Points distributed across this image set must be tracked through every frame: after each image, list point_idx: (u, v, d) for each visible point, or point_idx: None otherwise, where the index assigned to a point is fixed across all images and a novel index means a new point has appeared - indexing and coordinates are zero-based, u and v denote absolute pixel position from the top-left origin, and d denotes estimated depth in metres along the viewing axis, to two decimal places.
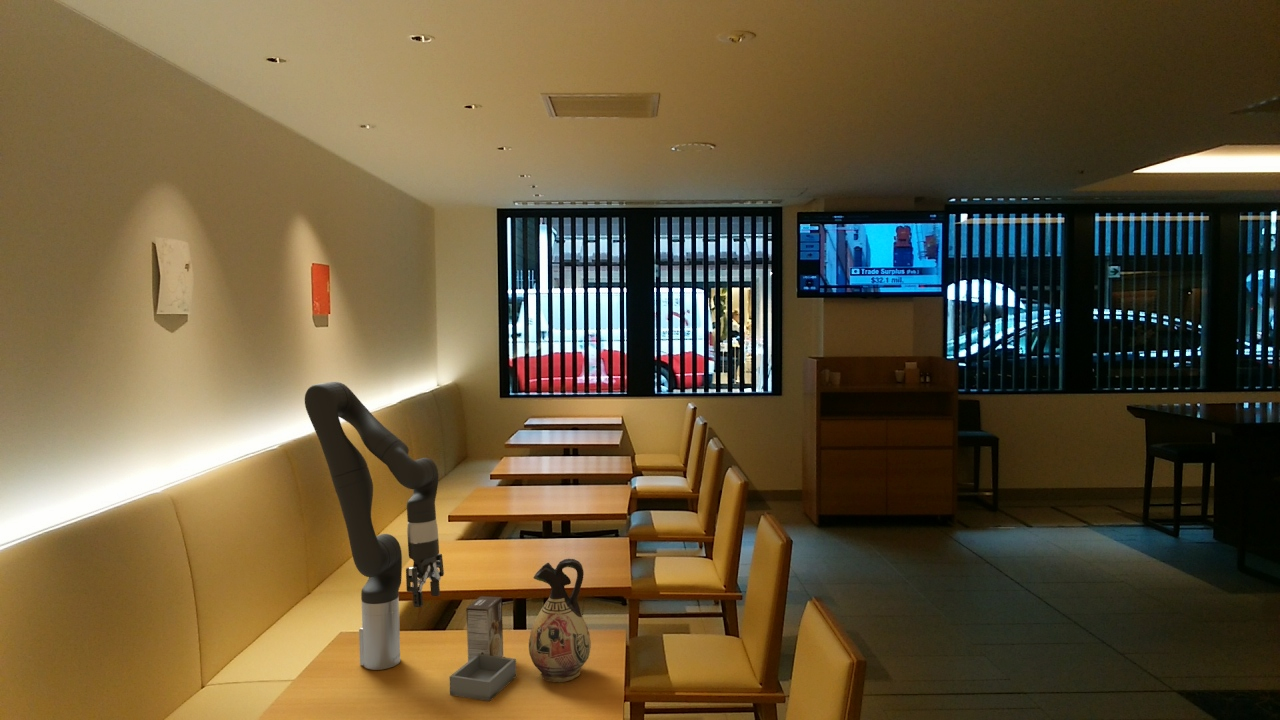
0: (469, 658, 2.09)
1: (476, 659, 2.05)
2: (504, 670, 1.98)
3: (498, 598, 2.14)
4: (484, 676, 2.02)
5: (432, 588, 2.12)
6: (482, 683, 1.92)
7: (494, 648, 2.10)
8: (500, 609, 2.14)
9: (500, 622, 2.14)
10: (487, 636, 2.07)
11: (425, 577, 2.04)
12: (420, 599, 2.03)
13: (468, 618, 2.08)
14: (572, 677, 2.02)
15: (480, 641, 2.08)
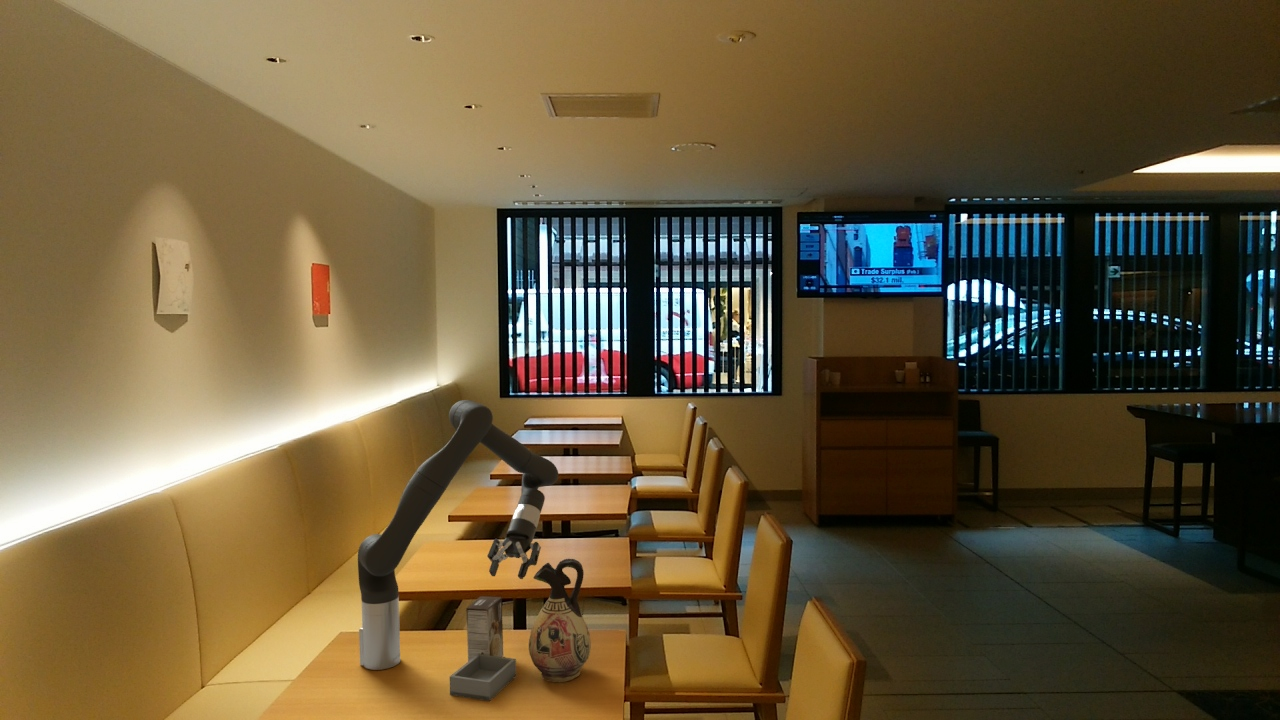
0: (469, 658, 2.09)
1: (476, 659, 2.05)
2: (504, 670, 1.98)
3: (498, 598, 2.14)
4: (484, 676, 2.02)
5: (494, 567, 2.24)
6: (482, 683, 1.92)
7: (494, 648, 2.10)
8: (500, 609, 2.14)
9: (500, 622, 2.14)
10: (487, 636, 2.07)
11: None
12: None
13: (468, 618, 2.08)
14: (572, 677, 2.02)
15: (480, 641, 2.08)
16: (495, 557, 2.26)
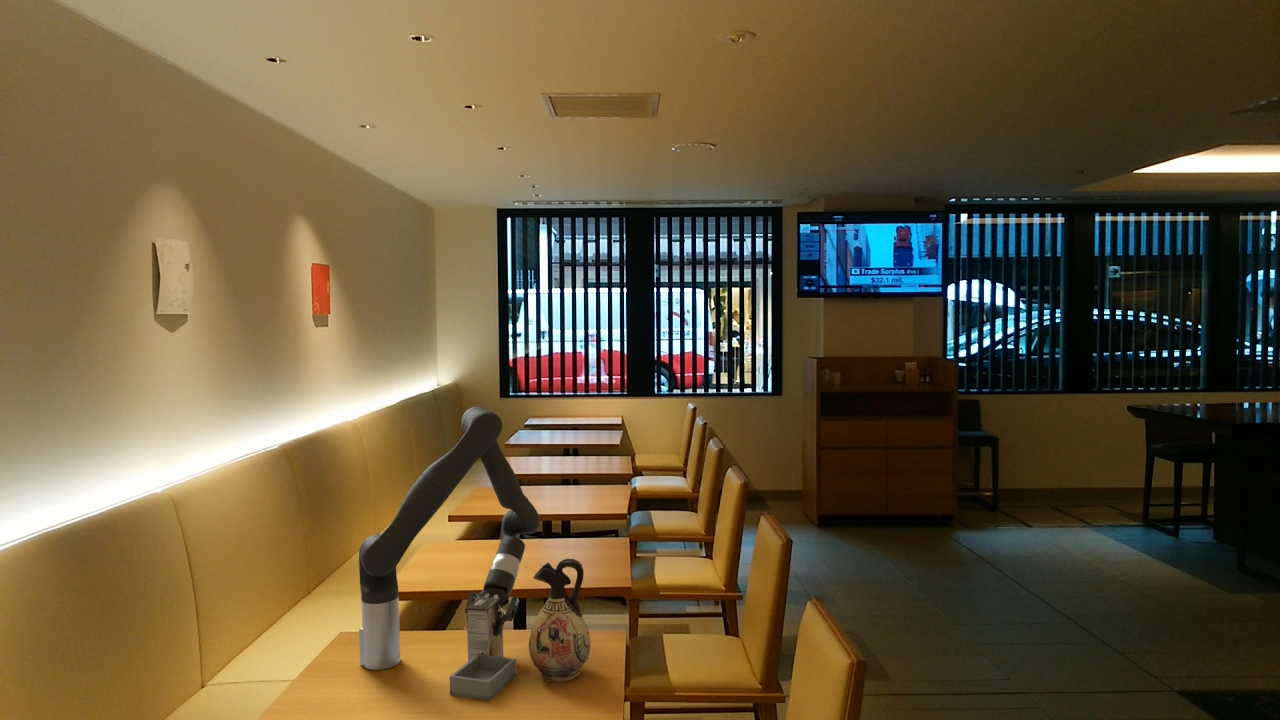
0: (469, 658, 2.09)
1: (476, 659, 2.05)
2: (504, 670, 1.98)
3: None
4: (484, 676, 2.02)
5: None
6: (482, 683, 1.92)
7: (494, 648, 2.10)
8: None
9: None
10: (487, 636, 2.07)
11: None
12: None
13: (468, 618, 2.08)
14: (572, 677, 2.02)
15: (480, 641, 2.08)
16: None
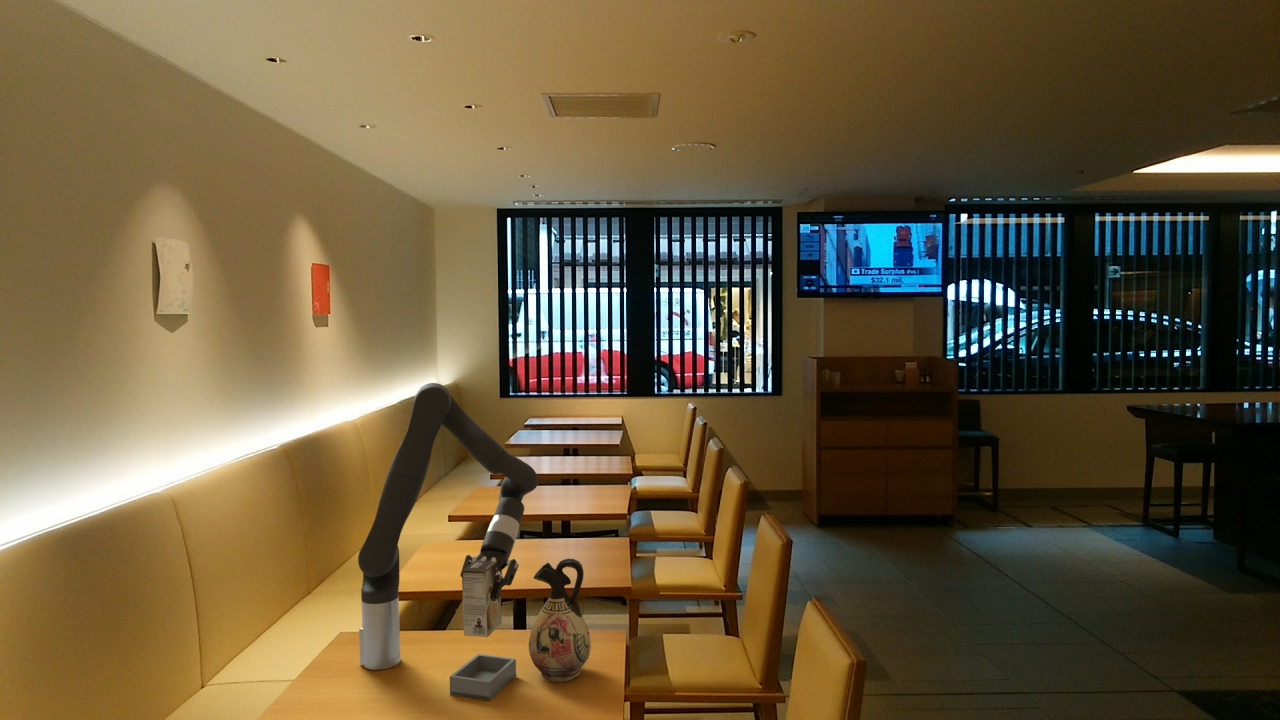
0: (465, 624, 1.95)
1: (476, 659, 2.05)
2: (504, 670, 1.98)
3: (496, 561, 2.00)
4: (484, 676, 2.02)
5: None
6: (482, 683, 1.92)
7: (491, 614, 1.96)
8: None
9: None
10: (484, 600, 1.93)
11: None
12: None
13: (464, 581, 1.94)
14: (572, 677, 2.02)
15: (476, 605, 1.94)
16: None
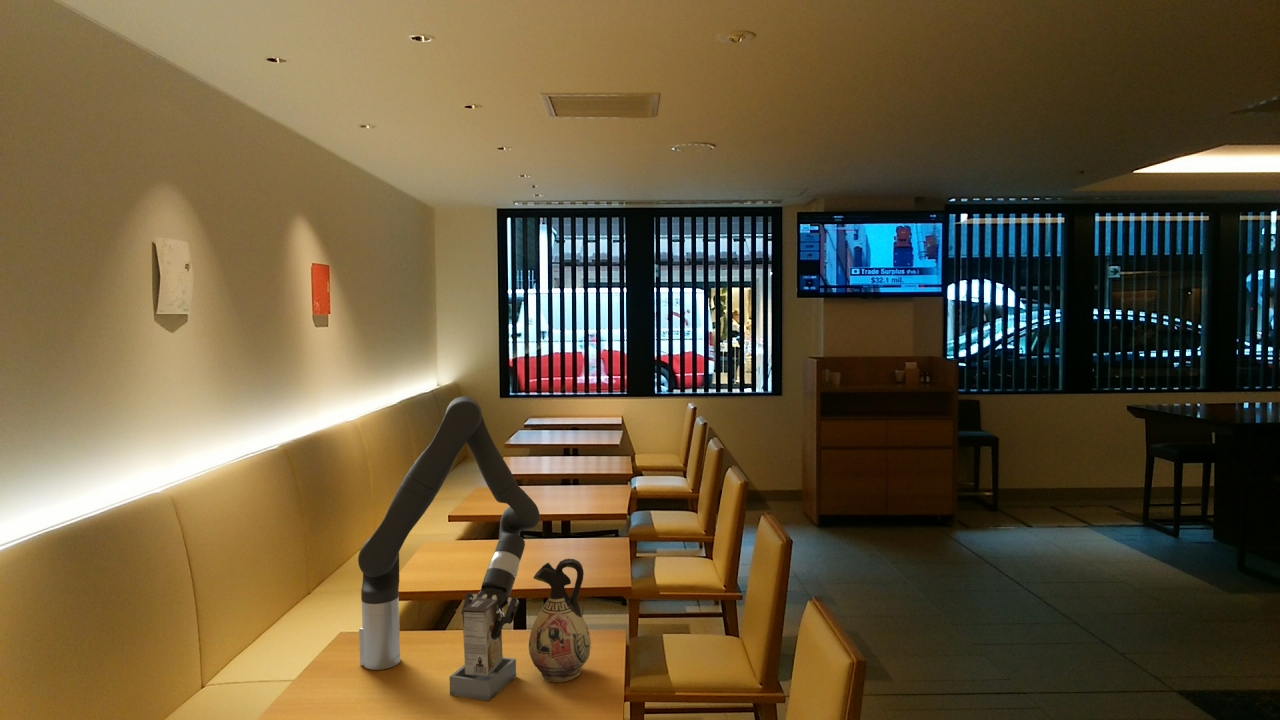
0: (466, 663, 1.95)
1: None
2: (504, 670, 1.98)
3: None
4: (484, 676, 2.02)
5: None
6: (482, 683, 1.92)
7: (492, 652, 1.96)
8: None
9: None
10: (485, 640, 1.94)
11: None
12: None
13: (465, 620, 1.95)
14: (572, 677, 2.02)
15: (477, 645, 1.94)
16: None
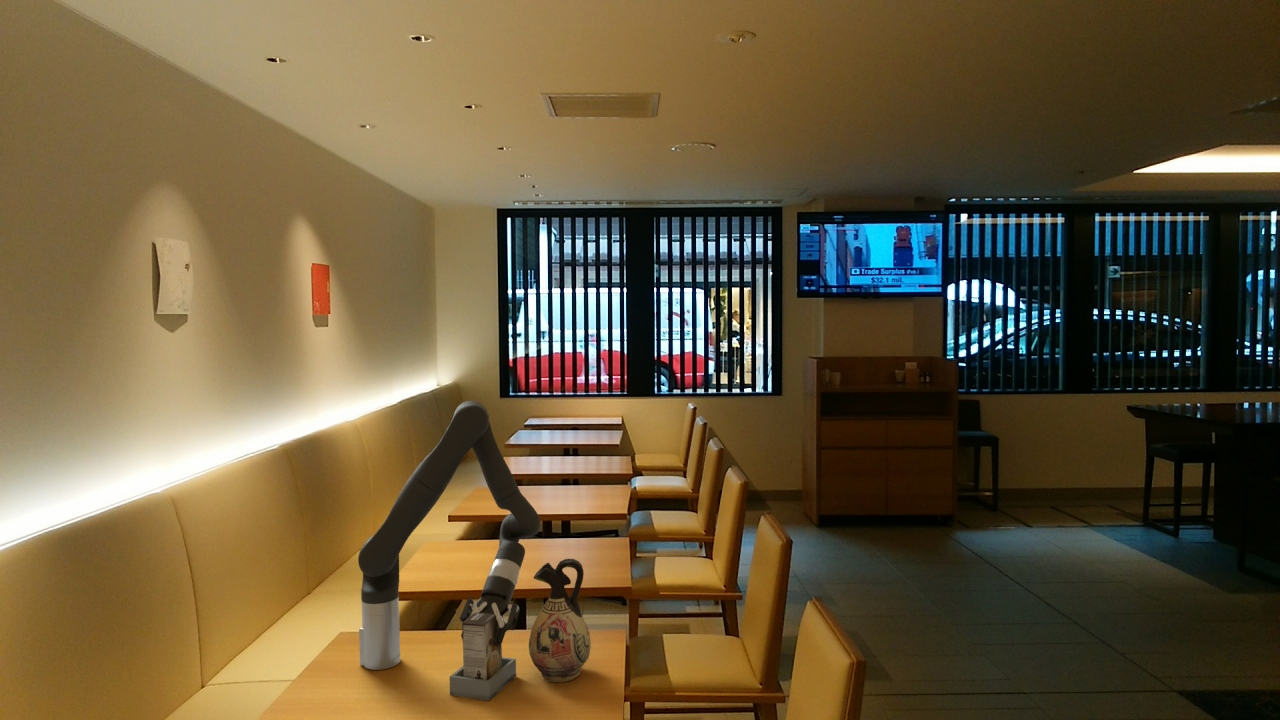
0: (465, 676, 1.96)
1: None
2: (504, 670, 1.98)
3: None
4: None
5: None
6: (482, 683, 1.92)
7: (491, 666, 1.97)
8: None
9: None
10: (484, 653, 1.94)
11: None
12: None
13: (464, 633, 1.95)
14: (572, 677, 2.02)
15: (476, 658, 1.95)
16: None
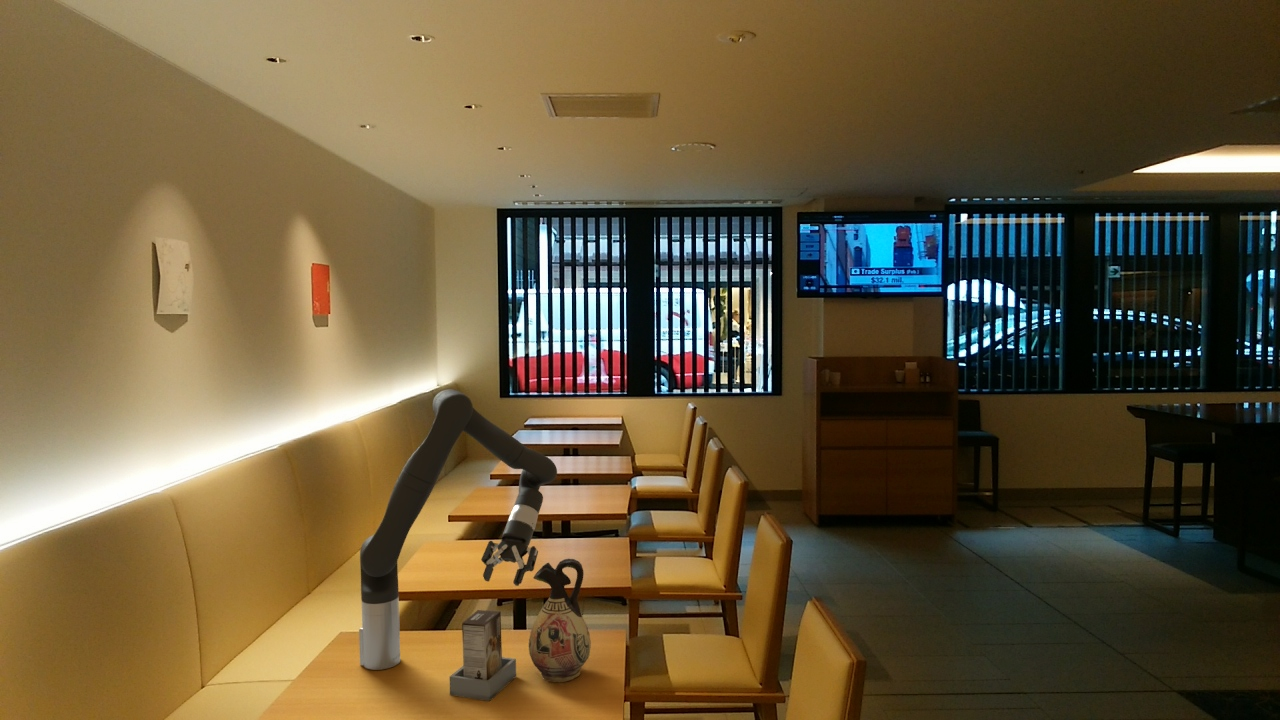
0: (465, 676, 1.96)
1: None
2: (504, 670, 1.98)
3: (496, 613, 2.01)
4: None
5: (489, 572, 2.12)
6: (482, 683, 1.92)
7: (491, 666, 1.97)
8: (499, 624, 2.01)
9: (499, 638, 2.01)
10: (484, 653, 1.94)
11: None
12: None
13: (464, 633, 1.95)
14: (572, 677, 2.02)
15: (476, 658, 1.95)
16: (489, 561, 2.13)
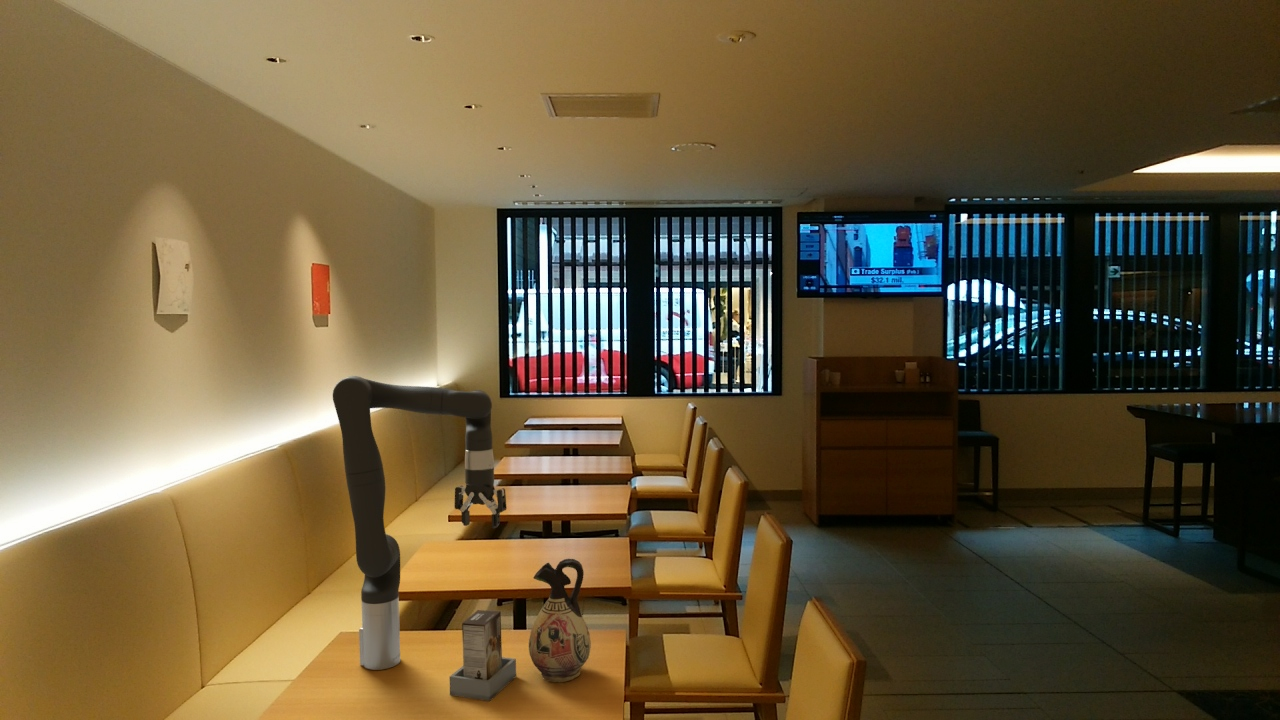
0: (465, 676, 1.96)
1: None
2: (504, 670, 1.98)
3: (496, 613, 2.01)
4: None
5: (466, 518, 2.18)
6: (482, 683, 1.92)
7: (491, 666, 1.97)
8: (499, 624, 2.01)
9: (499, 638, 2.01)
10: (484, 653, 1.94)
11: None
12: None
13: (464, 633, 1.95)
14: (572, 677, 2.02)
15: (476, 658, 1.95)
16: (463, 509, 2.18)
